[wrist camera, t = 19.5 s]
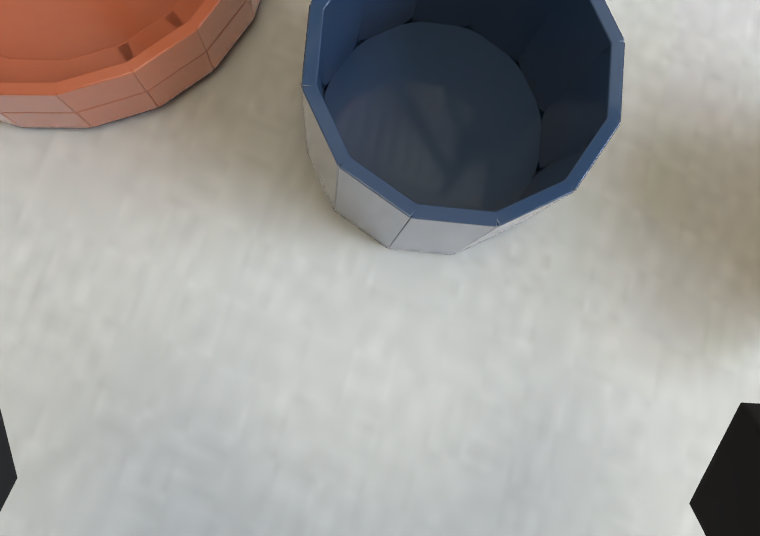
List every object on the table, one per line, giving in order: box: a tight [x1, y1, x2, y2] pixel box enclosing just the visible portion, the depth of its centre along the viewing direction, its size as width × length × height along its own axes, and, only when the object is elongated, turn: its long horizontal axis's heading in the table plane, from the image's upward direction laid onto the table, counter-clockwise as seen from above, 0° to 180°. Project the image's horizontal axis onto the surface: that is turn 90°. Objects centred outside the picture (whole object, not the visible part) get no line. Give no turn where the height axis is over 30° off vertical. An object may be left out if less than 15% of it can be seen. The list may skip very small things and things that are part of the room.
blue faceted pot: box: [301, 0, 625, 255], centre depth 27 cm, size 11×11×8 cm
